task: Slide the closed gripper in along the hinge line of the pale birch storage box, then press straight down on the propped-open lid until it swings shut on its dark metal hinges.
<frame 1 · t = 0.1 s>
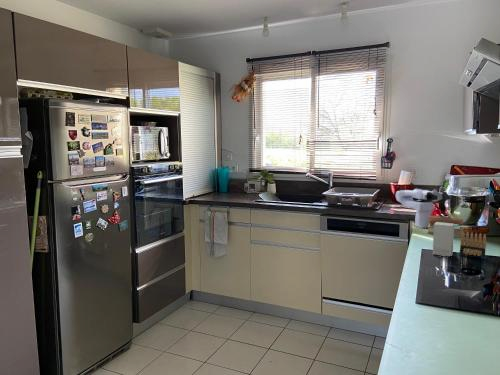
hand: (443, 197, 228), 22 cm above the countertop, tool horizontal, fingers open, 7 cm apart
ammunition clip: (471, 257, 188), on the countertop
storage box: (444, 232, 235), on the countertop
skincare box: (442, 255, 190), on the countertop
lid: (445, 220, 234), point 7 cm above the countertop, hinge at 26.0°
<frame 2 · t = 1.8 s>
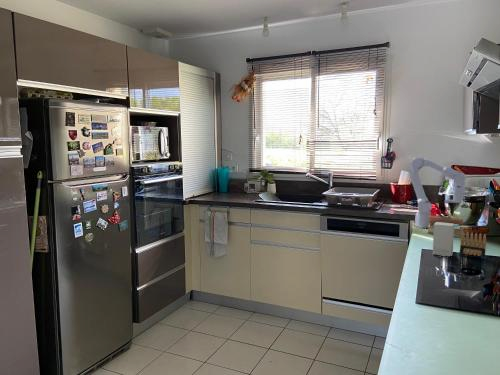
hand: (457, 215, 238), 9 cm above the countertop, tool pointing down, fingers open, 5 cm apart
nothing on the countertop moved.
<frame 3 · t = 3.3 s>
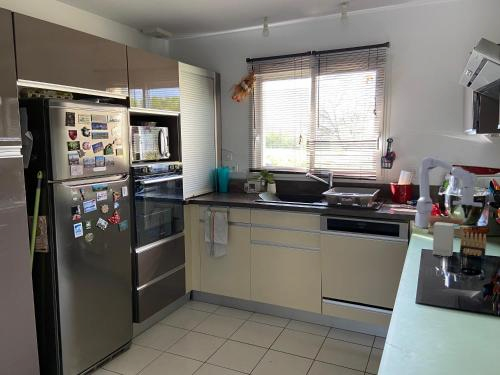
hand: (466, 218, 227), 10 cm above the countertop, tool pointing down, fingers closed
nothing on the countertop moved.
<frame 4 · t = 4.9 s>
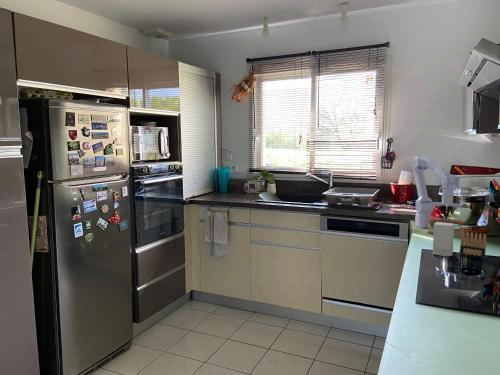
hand: (445, 218, 232), 9 cm above the countertop, tool pointing down, fingers closed, pressing on lid
lid: (445, 221, 234), point 7 cm above the countertop, hinge at 21.8°, touching gripper
everything else where it was.
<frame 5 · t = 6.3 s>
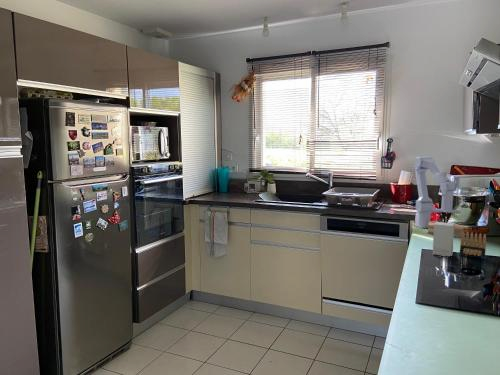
hand: (445, 225, 232), 5 cm above the countertop, tool pointing down, fingers closed, pressing on lid
lid: (445, 225, 234), point 5 cm above the countertop, hinge at -0.5°, touching gripper
everything else where it was.
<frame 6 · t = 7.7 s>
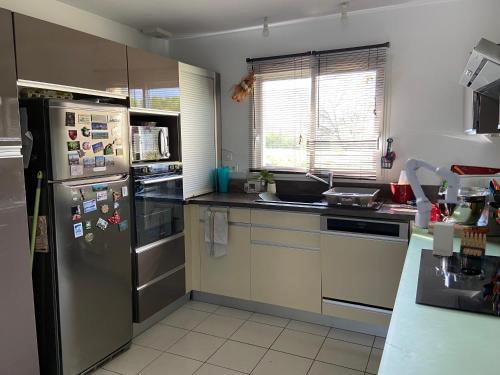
hand: (450, 215, 238), 9 cm above the countertop, tool pointing down, fingers closed
lid: (445, 225, 234), point 5 cm above the countertop, hinge at -0.5°
everything else where it was.
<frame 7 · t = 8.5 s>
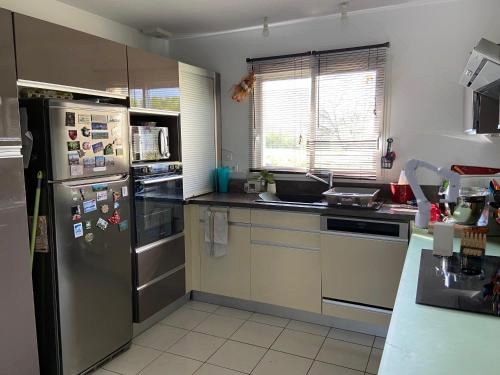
hand: (452, 215, 240), 9 cm above the countertop, tool pointing down, fingers closed
nothing on the countertop moved.
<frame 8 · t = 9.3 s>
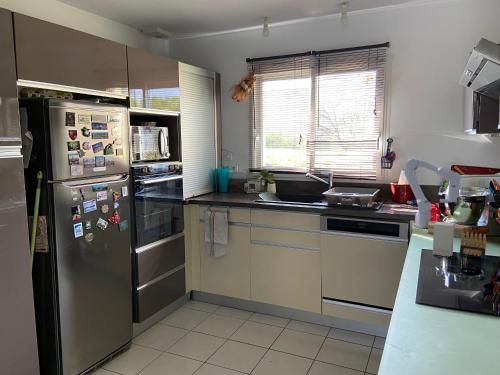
hand: (452, 215, 240), 9 cm above the countertop, tool pointing down, fingers closed
nothing on the countertop moved.
at the end: lid at +0° (first picture: +26°) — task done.
